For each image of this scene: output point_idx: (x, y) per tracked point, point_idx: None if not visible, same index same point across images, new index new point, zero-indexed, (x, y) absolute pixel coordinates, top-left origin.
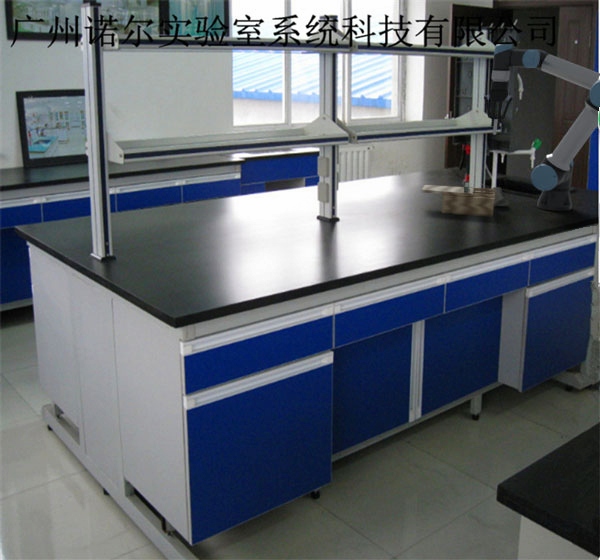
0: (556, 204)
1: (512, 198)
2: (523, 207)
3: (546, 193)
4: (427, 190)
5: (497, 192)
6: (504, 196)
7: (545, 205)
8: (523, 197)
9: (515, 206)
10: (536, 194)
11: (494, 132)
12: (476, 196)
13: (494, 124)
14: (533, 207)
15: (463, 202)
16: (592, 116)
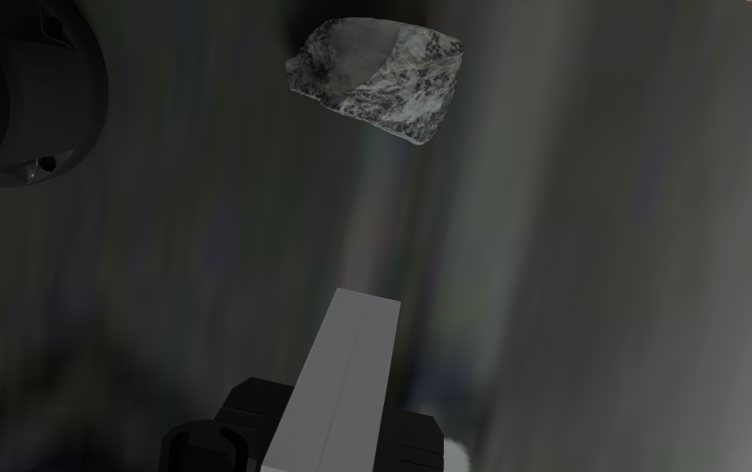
0: None
1: (229, 316)
2: (196, 57)
3: (5, 36)
4: None
5: (369, 18)
6: (309, 74)
7: (53, 2)
8: (160, 350)
9: (244, 80)
10: (78, 436)
11: (368, 312)
12: None
13: (366, 401)
14: (133, 68)
15: None
16: None
